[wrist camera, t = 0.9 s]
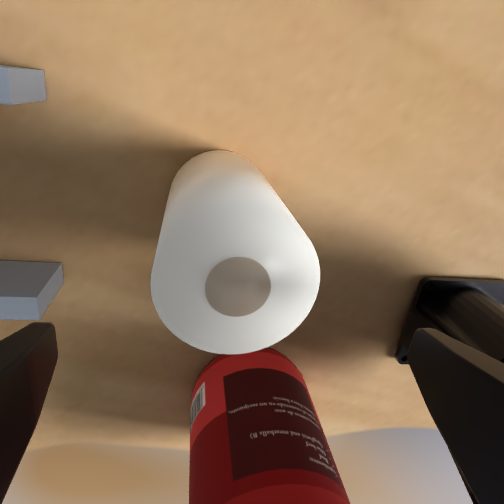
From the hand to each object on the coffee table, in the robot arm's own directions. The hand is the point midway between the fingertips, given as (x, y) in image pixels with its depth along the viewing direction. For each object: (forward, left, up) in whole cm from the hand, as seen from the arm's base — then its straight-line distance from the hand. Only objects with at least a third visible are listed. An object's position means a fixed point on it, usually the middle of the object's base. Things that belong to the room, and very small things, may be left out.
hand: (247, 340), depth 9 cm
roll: (0, 0, -12) cm, 12 cm away
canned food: (-3, +13, -12) cm, 18 cm away
